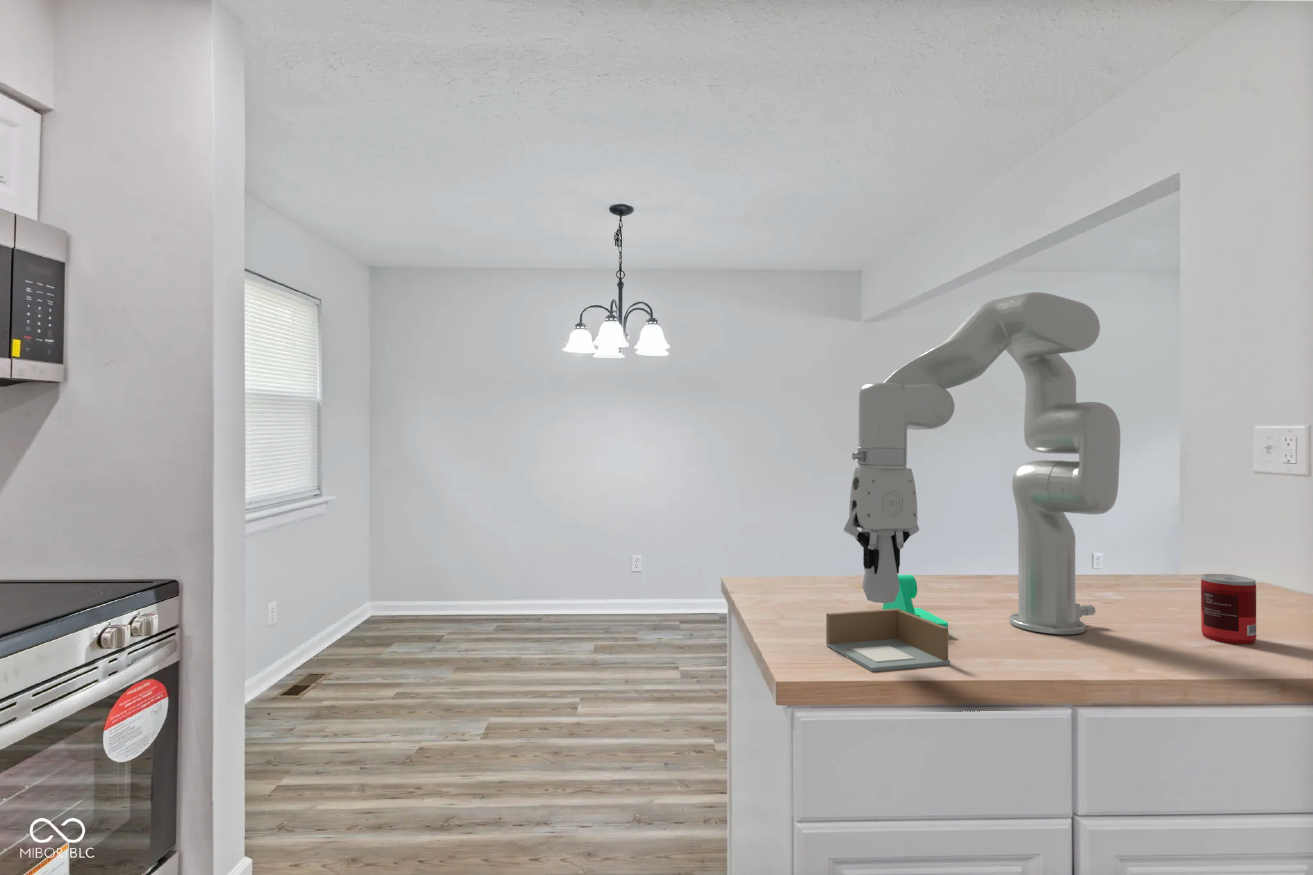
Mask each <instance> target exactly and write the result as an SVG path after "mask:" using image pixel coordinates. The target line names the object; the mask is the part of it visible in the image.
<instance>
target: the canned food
mask: <svg viewBox="0 0 1313 875" xmlns="http://www.w3.org/2000/svg"><path fill="white" fill-rule="evenodd" d="M1200 576H1201V578H1200V605H1201V606H1200V613H1201V614H1200V616H1201V617H1200V620H1201V621H1200V622H1201V624H1200V625H1201V626H1200V627H1201V628H1200V629H1201V633H1202V636H1203V637H1204V638H1205V637H1206V639H1207V638H1209V639H1208V640H1210V639H1211V640H1210V641H1213V640H1215V641H1214V642H1217V641H1218V643H1222V642H1224V643H1223V644H1228V643H1229V644H1230V645H1237V644H1249V645H1253V644H1255V642H1256V639H1257V582H1256V581H1257V580H1255V579H1254V578H1251V577H1248V576H1243V575H1236V574H1235V575H1233V574H1226V573H1205V574H1204V573H1203V574H1201V575H1200Z"/></svg>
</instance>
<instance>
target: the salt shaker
mask: <svg viewBox="0 0 1313 875" xmlns="http://www.w3.org/2000/svg"><path fill="white" fill-rule="evenodd" d="M894 534H895V530H881V531H877V539H876V548H875V549H877V550H878V551H879V561H878V570H877V573H876V574H875V573H874V567H873V566H872V568H870V569H866V568H865V570H864V574H863V579H862V584H861V585H862V589H863V592H864V595H865V597H866V600H867V601H870V602H872V603H877V604H884V603H892V602H894V601H895V599H896V597H897V594H898V592H899V588H900V585H899V580H898V575H899V573H898V574H897V568H896V562H895V557H894V551H893V545H892V539H891V536H892V535H894Z"/></svg>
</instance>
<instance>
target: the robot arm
mask: <svg viewBox="0 0 1313 875" xmlns="http://www.w3.org/2000/svg"><path fill="white" fill-rule="evenodd" d="M1100 330H1101V323H1100V320H1099V317H1098V315H1097V314H1096V312H1095V311H1094V309H1093V308H1092V307H1091V306H1089V305H1087V304H1086V303H1083V302H1081V301H1077V300H1073V299H1070V298H1067V297H1063V296H1059V295H1056V294H1051V293H1046V292H1040V291H1035V292H1033V291H1032V292H1025V293H1020V294H1016V295H1010V296H1005V297H1001V298H996V299H993V300H990V301H987V302H985V303H983V304H981V305H980V306H979V307H978V308H977V309H975V310H974V311H973V313H972V314H971V315H970V316H969V317H968V318H967V319H966V320H965V321H964V322H963V323H961V325H960V326H959V327H958V328H957V329H956V330H955V331H954V332H953V333H952V334H951V335H950V336H949V337H948V338H947V339H946V340H945V341H944V342H942V343H941V344H939V345H936V346H935V347H933V348H931V349H930V350H928V351H926V352H925V353H923V354H921V355H919V356H918V357H916V358H914V359H912V360H911V361H909V362H907V363H906V364H904V365H902V366H901V367H900V368H898V369H897V370H895V371H894V372H893V373H892V374H890V376H888V378H886V379H885V381H883V382H876V383H874V382H873V383H868V384H865V385H862V387H860V390H859V394H858V448H857V451H853V452H852V454H851V459H852V460H853V461H857V465H858V467H854V471H853V476H852V479H851V486H850V495H849V508H848V509H849V518H848V519H847V521H846V524H845V526H844V529H843V532H844V533H846V534H848V535H850V537H853V538H855V541H857V542H858V543H859V545H860V547H861V548H863V549H862V550H863V552H862V553H863V555H862V556H863V557H862V558H863V559H862V560H863V563H862V564H863V567H864V571H865V568H866V569H870V568H872V566H873V567H874V573H875V574H876V573H877V570H878V561H879V551H878V550H877V549H875V548H876V539H877V531H881V530H895V534H894V535H892V536H891V539H892V545H893V551H894V557H895V562H896V568H897V574H898V575H899V573H900V565H901V549H903V548H904V546H905V544H906V542H907V540H908V539H910V538H911V536H913V535H915V534H917V533H918V532H920V527H919V525H918V501H917V499H918V498H917V491H916V490H917V489H916V483H915V478H914V474H913V470H912V468H909V467H908V430H916V431H917V430H933V429H937V428H940V427H943V426H944V425H946V424H947V423H948V422H949V421H950V420H951V419H952V417H953V415H954V412H955V402H954V398H953V396H952V394H951V393H950V392H949V391H948V390H947V389H951V388H954V387H957V386H960V385H964V384H966V383H968V382H970V381H973V380H975V379H978V378H979V377H980V376H983V374H984V373H985V372H986V370H988V368H990V367H991V365H992V364H993V363H994V362H995V361H996V360H997V359H998V358H999V357H1000V355H1001V354H1002V353H1003V352H1004V351H1006V352H1007V353H1008V354H1009V356H1010V357H1011V358H1012V359H1013V360H1014V361H1015V363H1016V364H1017V366H1018V367H1019V368H1020V370H1021V373H1022V374H1023V377H1024V382H1025V396H1024V397H1025V400H1024V418H1023V419H1024V422H1023V436H1024V442H1025V445H1026V446H1027V447H1028V449H1030V450H1032V451H1033V452H1036V453H1040V454H1041V453H1043V454H1058V455H1059V454H1061V455H1063V454H1064V455H1065V454H1066V455H1069V454H1070V455H1078V458H1079V459H1078V461H1076V460H1075V461H1070V460H1068V461H1067V460H1049V459H1048V460H1047V459H1046V460H1045V459H1043V460H1034V461H1029V462H1026V463H1023V464H1021V465H1020V466H1019V467H1018V468H1016V470H1015V472H1014V474H1013V476H1012V480H1011V486H1012V487H1011V489H1012V494H1013V497H1014V503H1015V508H1016V514H1017V523H1018V524H1017V525H1018V526H1017V528H1018V531H1017V532H1018V536H1017V537H1018V538H1017V540H1018V542H1017V544H1018V550H1017V552H1018V553H1017V554H1018V556H1017V558H1018V559H1017V560H1018V564H1017V565H1018V569H1017V570H1018V575H1017V576H1018V577H1017V578H1018V579H1017V580H1018V613H1013V614H1011V615H1010V616H1009V623H1010V624H1011V625H1013V626H1014V627H1017V628H1019V629H1023V630H1026V631H1029V632H1030V631H1031V632H1035V633H1041V634H1048V635H1049V634H1052V635H1077V634H1082V633H1084V632H1086V624H1085V623H1084V622H1083V621H1081V618H1082V617H1083V616H1085V617H1086V616H1087V617H1089V616H1093V615H1095V614H1096V608H1095V606H1094V605H1093V604H1085V605H1084V604H1083V605H1080V603H1078V602H1076V535H1075V534H1076V533H1075V530H1074V527H1073V526H1072V524H1071V522H1070V520H1069V518H1068V517H1067V516H1066V514H1065V513H1067V514H1068V513H1070V514H1083V515H1102V514H1105V513H1108V512H1109V511H1110V510H1111V509H1112V508H1113V507H1114V506H1115V503H1116V500H1117V498H1118V491H1119V476H1120V457H1121V456H1120V454H1121V426H1120V421H1119V418H1118V417H1117V416H1118V415H1117V414H1116V413H1115V411H1114V409H1113V408H1111V406H1109V405H1108V404H1105V403H1102V402H1098V401H1097V402H1095V401H1082V402H1081V401H1079V402H1077V379H1076V374H1075V372H1074V371H1073V368H1072V367H1071V366H1070V365H1069V363H1068V361H1066V360H1065V359H1064V358H1063V357H1062V355H1060V354H1067V353H1076V352H1080V351H1085V350H1088V349H1089V348H1091V347H1092V346H1093V345H1094V344H1095V343H1096V341H1097V340H1098V338H1099V335H1100ZM860 528H861V529H860ZM859 529H860V530H859Z"/></svg>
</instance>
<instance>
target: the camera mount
mask: <svg viewBox="0 0 1313 875" xmlns="http://www.w3.org/2000/svg"><path fill="white" fill-rule="evenodd" d="M898 580H899V585H900V588H899V592H898V594H897V597H896V599H895V601H894V602H892V603H882V604H883V605H882V607H881V608H882V609H881V610H883V609H900V610H901V611H905V612H908V613H911V614H913V615H916V616H918V617H921V618H924V619H926V620H929V621H931V622H934V623H936V624H939V625H942V626H944V627H947V628H948V629H949V622H948V621H946V620H944V619H943V618H940V617H939V616H937V615H935V614H933V613H931V612H929V611H927V610H926V609H923V608H919V607H914V604H913V603H914V602H913V599H915V598H916V597H917V594H918V583H917V580H916V578H915V576H914V575H912V574H898Z"/></svg>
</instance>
